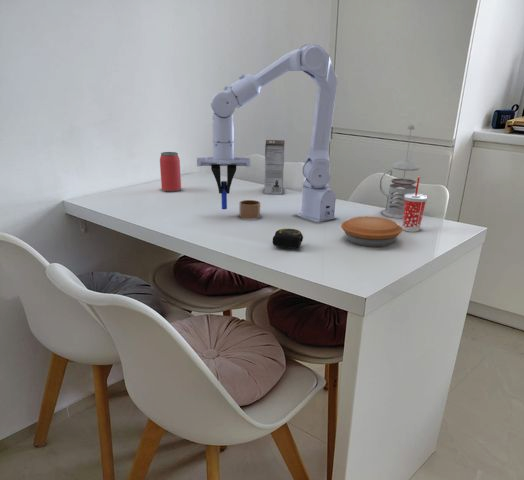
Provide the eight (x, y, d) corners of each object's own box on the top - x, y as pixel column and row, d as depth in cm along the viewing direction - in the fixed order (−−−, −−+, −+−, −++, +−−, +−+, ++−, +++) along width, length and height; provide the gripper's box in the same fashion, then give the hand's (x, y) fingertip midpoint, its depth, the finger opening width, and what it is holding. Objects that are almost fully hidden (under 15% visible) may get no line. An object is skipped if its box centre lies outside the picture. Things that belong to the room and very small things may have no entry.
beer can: (185, 189, 186) (183, 153, 180) (172, 193, 181) (170, 155, 175) (170, 187, 189) (168, 150, 183) (157, 190, 184) (155, 153, 178)
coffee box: (264, 187, 191) (265, 139, 183) (282, 188, 191) (284, 139, 183) (264, 193, 183) (265, 143, 175) (283, 194, 183) (285, 144, 175)
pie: (359, 252, 131) (362, 232, 128) (329, 234, 143) (330, 215, 141) (413, 246, 136) (416, 226, 133) (379, 229, 148) (381, 211, 146)
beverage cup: (413, 225, 152) (421, 174, 146) (426, 231, 148) (435, 178, 141) (395, 227, 150) (402, 175, 144) (407, 233, 146) (415, 179, 139)
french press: (414, 219, 158) (428, 127, 146) (374, 215, 161) (384, 125, 149) (416, 211, 166) (430, 123, 154) (378, 207, 169) (389, 121, 157)
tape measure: (271, 249, 131) (271, 234, 130) (278, 241, 137) (278, 226, 135) (298, 252, 130) (299, 237, 128) (304, 244, 136) (305, 229, 134)
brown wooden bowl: (264, 217, 156) (264, 203, 154) (248, 221, 153) (248, 206, 151) (251, 213, 160) (251, 199, 158) (235, 216, 157) (235, 201, 155)
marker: (228, 208, 154) (227, 181, 151) (225, 209, 153) (224, 182, 149) (223, 207, 155) (223, 180, 151) (220, 209, 154) (219, 181, 150)
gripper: (195, 143, 141) (197, 196, 148) (251, 143, 142) (250, 196, 149) (196, 139, 147) (198, 190, 154) (249, 140, 149) (249, 190, 155)
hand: (224, 192), depth 152 cm, fingers closed on marker, 1 cm apart
